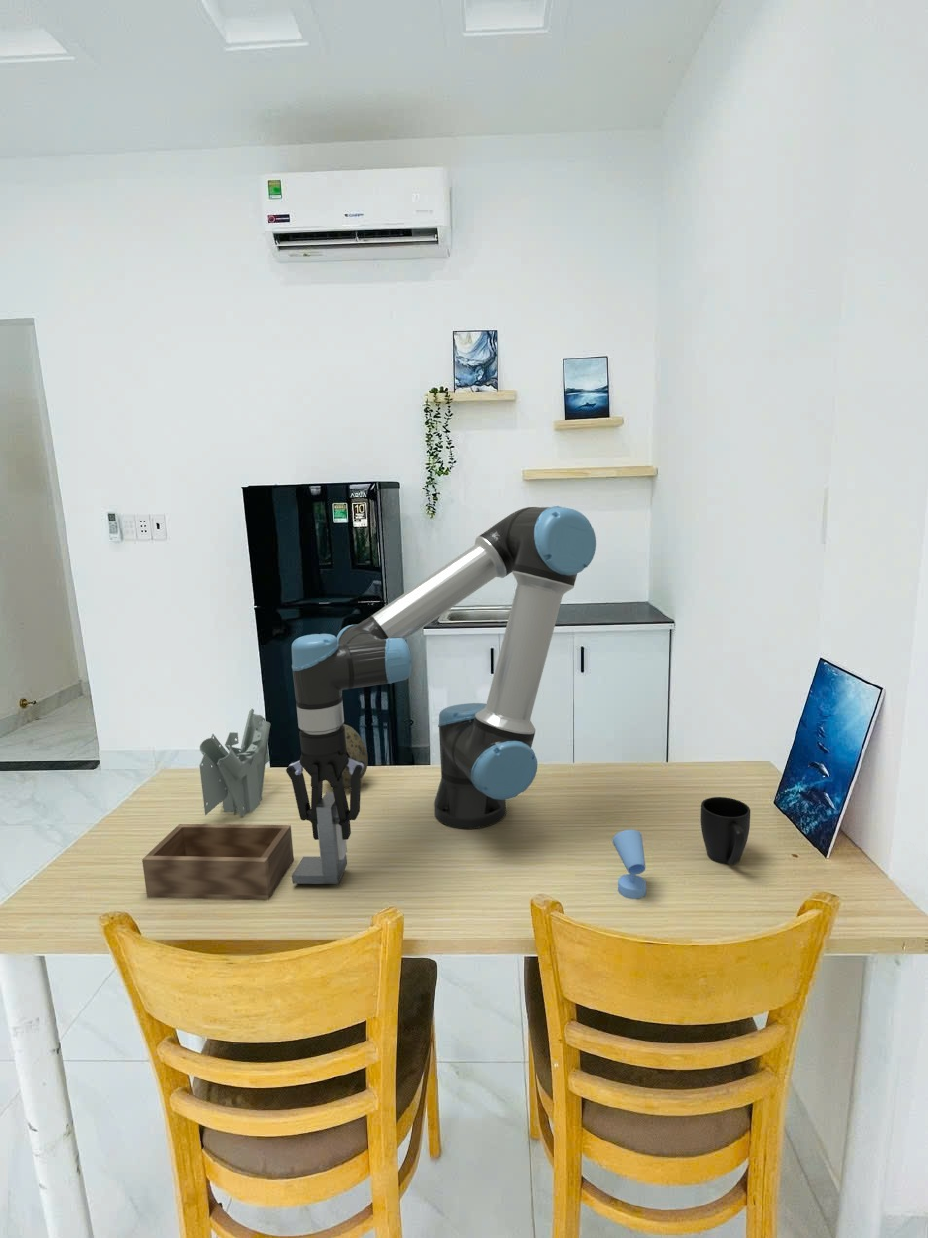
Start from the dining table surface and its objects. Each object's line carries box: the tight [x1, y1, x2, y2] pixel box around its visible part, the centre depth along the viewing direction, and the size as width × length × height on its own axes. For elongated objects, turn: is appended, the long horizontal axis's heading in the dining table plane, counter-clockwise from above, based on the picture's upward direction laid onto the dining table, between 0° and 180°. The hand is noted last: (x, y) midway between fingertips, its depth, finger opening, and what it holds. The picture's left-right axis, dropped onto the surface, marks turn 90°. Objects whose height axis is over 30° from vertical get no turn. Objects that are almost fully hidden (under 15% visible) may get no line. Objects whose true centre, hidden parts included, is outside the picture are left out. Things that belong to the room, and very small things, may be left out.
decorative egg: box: [327, 723, 369, 789], centre depth 153 cm, size 11×11×15 cm
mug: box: [700, 796, 751, 866], centre depth 117 cm, size 8×12×10 cm
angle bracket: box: [291, 791, 348, 885], centre depth 115 cm, size 8×6×14 cm
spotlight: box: [612, 829, 647, 900], centre depth 110 cm, size 5×10×7 cm
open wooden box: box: [141, 823, 295, 901], centre depth 118 cm, size 21×12×7 cm, turn 85°
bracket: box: [199, 708, 271, 818], centre depth 144 cm, size 28×7×20 cm, turn 170°
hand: (334, 855), depth 116 cm, fingers closed on angle bracket, 2 cm apart
